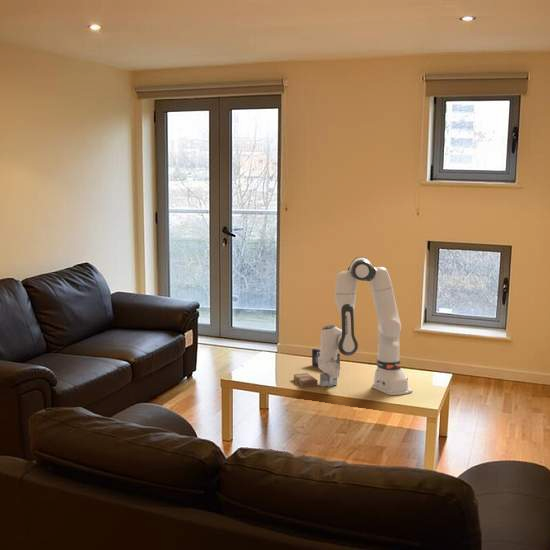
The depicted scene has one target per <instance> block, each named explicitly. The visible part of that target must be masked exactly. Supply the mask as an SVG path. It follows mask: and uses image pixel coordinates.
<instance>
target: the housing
mask: <svg viewBox="0 0 550 550" xmlns="http://www.w3.org/2000/svg"><path fill="white" fill-rule="evenodd" d="M329 378H330V377H329V375H328V374H327V373H320V374H319V380H320V381H319V386H321V385H322V386H328V387H334V386H333V385H336V386H338V378H333V383H329ZM322 386H321V387H322Z"/></svg>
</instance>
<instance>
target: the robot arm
mask: <svg viewBox="0 0 550 550" xmlns="http://www.w3.org/2000/svg"><path fill="white" fill-rule="evenodd" d="M358 281H365V282H369V285H370V291H371V295H372V299H373V304H374V309H375V314H376V318H377V344H378V345H377V347H378V348H377V359H376V366H377V367H376V370H375V372H374V375H373V376H374V377H373V383H372V385H371V388H372V389H375V390H377V391H379V392H382V393H384V394H387V395H389V396H399V395H407V394H411V393H413V389H412V388H411V387H410V386H409V385H408V384H409V383H408V381H409V377H408V376H406V375H405V373H404V371H403V370H402V364H401V361H400V332H401V331H402V330H401V329H402V322H401V319H400V314H399V310H398V306H397V302H396V298H395V292H394V286H393V283H392V282H393V281H392V279H391V277H390V274H389V272H388V269H386V268H385V267H383V266H377V267H374V266H373V264H372V263H371V261H370V260H369V259H368V258H366V257H364V256H357V257H356V258H354V259H353V260H352V261H351V263H350V265H349V267H348V269H347V270H343V271H340V272H338V273H337V274H336V277H335V284H334V299H335V300H334V301H335V306H336V308H337V309H338V312H339V316H340V318H341V319H340V320H341V321H340V322H341V328H338V327H337V326H336V325H333V324H330V325H326V326H324V327H322V329H321V331H320V349H319V350H320V352H317V356H318V367H317V368H318V369H320V370H321V371H322V372H323V373H322V374H324V373H327V374H328V375H329V377H330V378H329V383H333V378H337V379H338V378H340V371H339V364H338V363H337V361H336V360H337V353H338V351H339V353H341V355H343V356H352V355H354V354H355V353H356V352H357V350H358V348H359V343H358V342H357V339H356V337H355V321H354V320H355V317H354V316H355V309H356V308H355V306H356V303H357V302H356V299H357V284H358Z"/></svg>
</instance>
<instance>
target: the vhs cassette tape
mask: <svg viewBox="0 0 550 550" xmlns="http://www.w3.org/2000/svg"><path fill="white" fill-rule="evenodd" d="M320 350H321V349H319V348H313V349H311V363H312V364H311V365H313V366H312V367H316V366H317V367H316V368H319V367H318V356H317V352H320ZM340 360H341V354H340V353H338V352H337V360H336V361H337V363H338V364H339V370H340V368H341V365H340V364H341V361H340Z"/></svg>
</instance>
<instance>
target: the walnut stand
mask: <svg viewBox="0 0 550 550" xmlns="http://www.w3.org/2000/svg"><path fill="white" fill-rule="evenodd" d="M293 380H294V381H295V382H296V383H297V384H298V383H299V386H301V387H302V388H309V386H311V387H317V386H318V379H316V378H315V377H314V376H312V375H311V374H309V373H308V372H304V373H296V374H293ZM316 385H317V386H316Z"/></svg>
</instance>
